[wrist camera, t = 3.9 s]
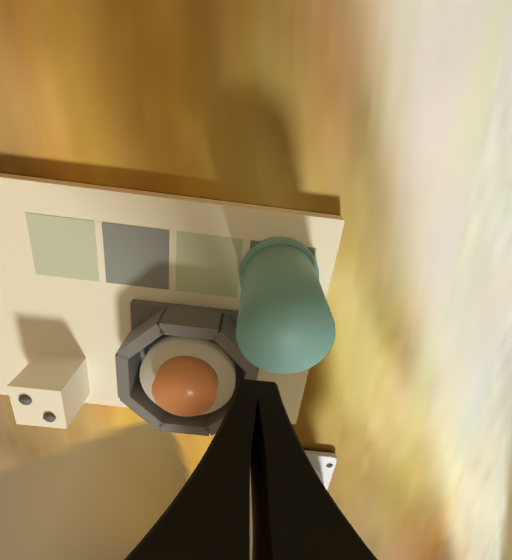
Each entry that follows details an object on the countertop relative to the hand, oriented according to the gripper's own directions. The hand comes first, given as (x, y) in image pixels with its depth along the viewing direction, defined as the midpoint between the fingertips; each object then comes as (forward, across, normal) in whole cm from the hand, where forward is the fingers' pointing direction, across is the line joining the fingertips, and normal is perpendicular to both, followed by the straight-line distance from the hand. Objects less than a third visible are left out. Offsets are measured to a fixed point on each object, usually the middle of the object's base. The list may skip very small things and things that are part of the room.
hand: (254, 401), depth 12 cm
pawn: (+8, -1, -1) cm, 9 cm away
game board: (+10, +7, +3) cm, 12 cm away
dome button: (+7, +4, +5) cm, 10 cm away
